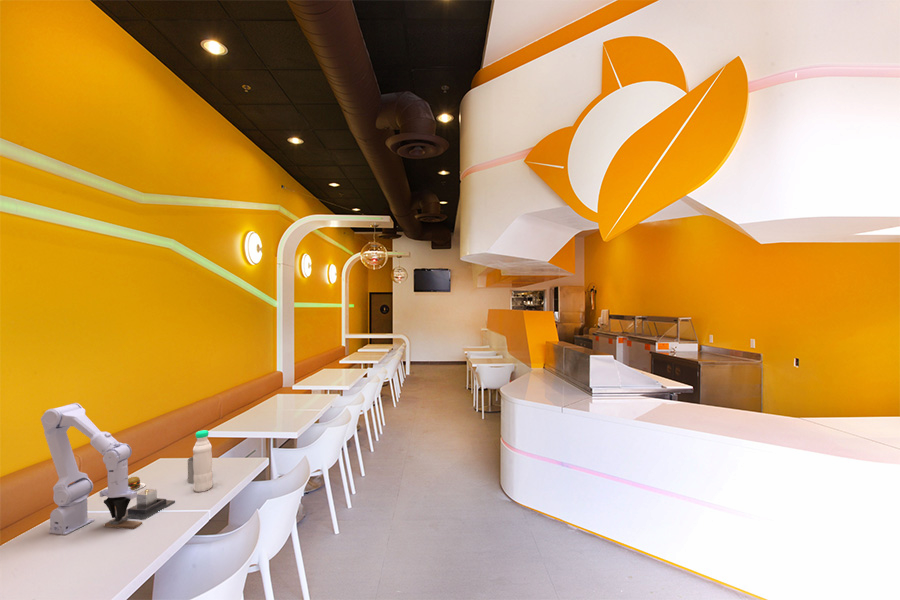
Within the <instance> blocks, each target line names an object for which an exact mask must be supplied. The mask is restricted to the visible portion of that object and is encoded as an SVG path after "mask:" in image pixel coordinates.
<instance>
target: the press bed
mask: <svg viewBox="0 0 900 600" xmlns="http://www.w3.org/2000/svg"><path fill="white" fill-rule="evenodd" d="M175 503H176V500H172V499H171V500H170V499H167V498H160V497H159V498H158V497H157V503H155V504H154V505H152V506H150V507H148V508H146V509H141V508H137V504H135V505H133V506H131V507H128V508H127V510H126V514H125V516H128V519H133V520H135V519H136V520H142V519H145V520H146V518H147V517H148V518H150V517H152V516H154V515H155V513H156V514H157V513H159V512H161V511H162V509H163V510H164V508H165V509H166V508H168V507H170V506H172V505H173V504H175ZM160 510H161V511H160ZM158 511H159V512H158ZM153 514H154V515H153ZM151 515H152V516H151ZM149 516H150V517H149ZM148 518H147V519H148Z"/></svg>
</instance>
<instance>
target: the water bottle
mask: <svg viewBox="0 0 900 600" xmlns="http://www.w3.org/2000/svg"><path fill="white" fill-rule="evenodd" d="M209 433H210V432H209V430H208V429H207V430H206V429H202V430H199V431H196V432H195V438H196V441H195V444H194V446H193V448H192V453H193V454H192V457H193V470H194V477H193V479H194V484H193V491H194V492H196V493H201V492H205V491H208V490H210V489H212V487H213V453H212V452H213V451H212V448H213V446H212V444H211V442H210V440H209V438H208V437H209V435H210V434H209Z"/></svg>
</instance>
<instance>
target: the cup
mask: <svg viewBox="0 0 900 600" xmlns="http://www.w3.org/2000/svg"><path fill="white" fill-rule="evenodd" d="M193 477H194V470H193V456H191V457H189V458H188V459H187V483H188V484H190V485H191V484H192V485H194V479H193Z"/></svg>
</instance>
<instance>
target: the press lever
mask: <svg viewBox="0 0 900 600" xmlns="http://www.w3.org/2000/svg"><path fill="white" fill-rule="evenodd" d="M126 520H129V518H128V516H124V517H122V518H120V519H118V517H117V510H116V507H115V518H112V519H110V520H109V521H110V524H112V525H119V524H121V523H122V522H124V521H126Z"/></svg>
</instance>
